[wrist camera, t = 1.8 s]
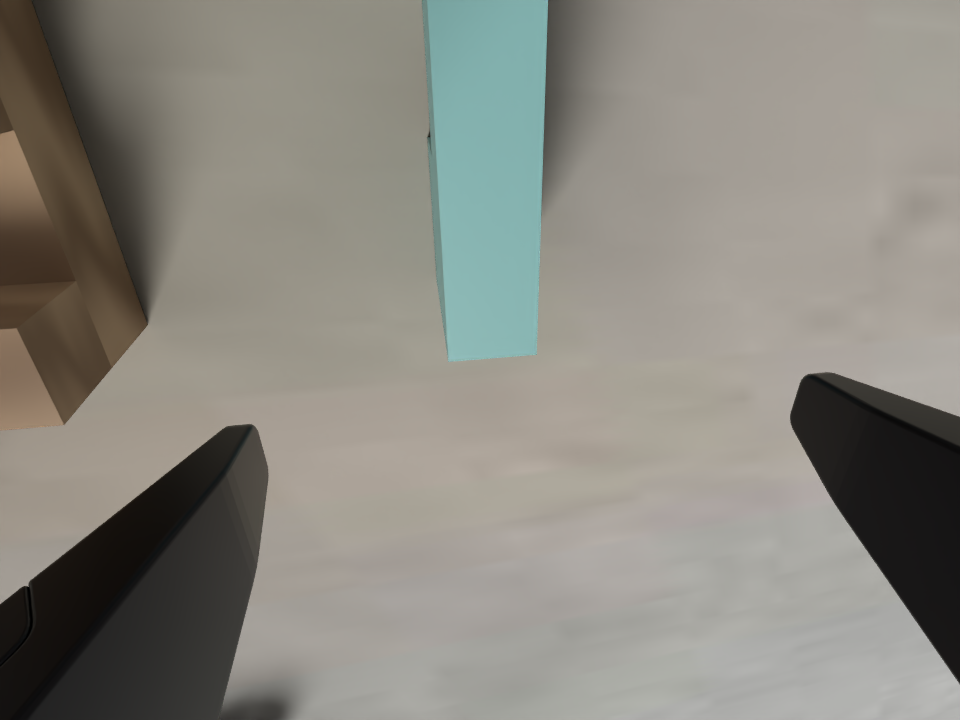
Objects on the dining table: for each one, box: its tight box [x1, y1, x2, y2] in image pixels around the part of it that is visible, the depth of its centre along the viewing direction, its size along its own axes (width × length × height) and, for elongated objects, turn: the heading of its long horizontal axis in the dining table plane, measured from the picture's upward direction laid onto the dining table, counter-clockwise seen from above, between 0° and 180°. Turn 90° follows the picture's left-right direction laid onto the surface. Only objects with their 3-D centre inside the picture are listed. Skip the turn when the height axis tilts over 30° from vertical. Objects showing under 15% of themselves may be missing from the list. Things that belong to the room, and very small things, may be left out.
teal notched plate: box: [422, 0, 548, 362], centre depth 15 cm, size 14×2×6 cm, turn 1°
